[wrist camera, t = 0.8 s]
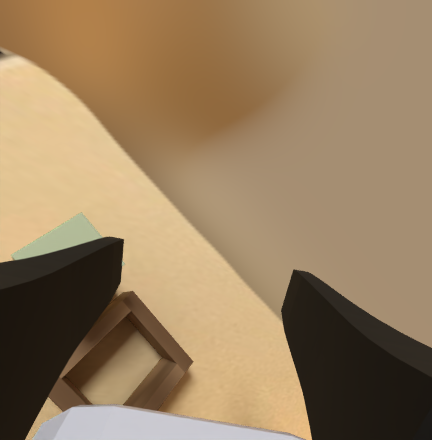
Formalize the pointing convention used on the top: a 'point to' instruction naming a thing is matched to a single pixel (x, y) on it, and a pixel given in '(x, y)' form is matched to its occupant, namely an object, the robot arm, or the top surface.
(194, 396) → the top surface
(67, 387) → the socket block
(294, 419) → the top surface
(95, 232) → the pale green block
